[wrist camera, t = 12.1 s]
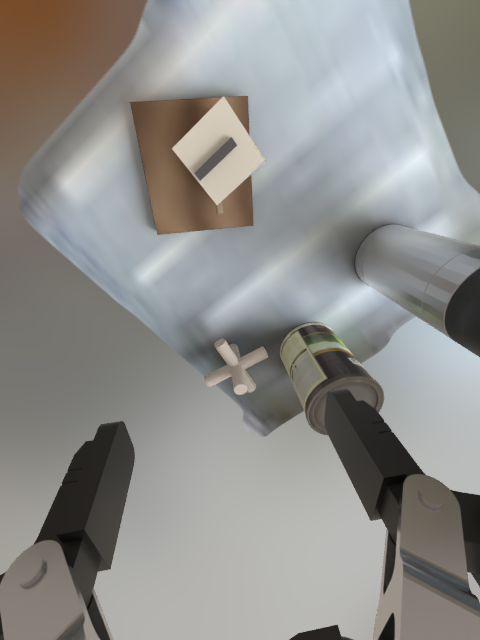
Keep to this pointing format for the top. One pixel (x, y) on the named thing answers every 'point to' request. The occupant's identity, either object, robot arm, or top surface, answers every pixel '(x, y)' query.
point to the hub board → (185, 168)
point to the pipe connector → (235, 367)
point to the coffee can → (324, 371)
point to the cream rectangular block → (219, 151)
